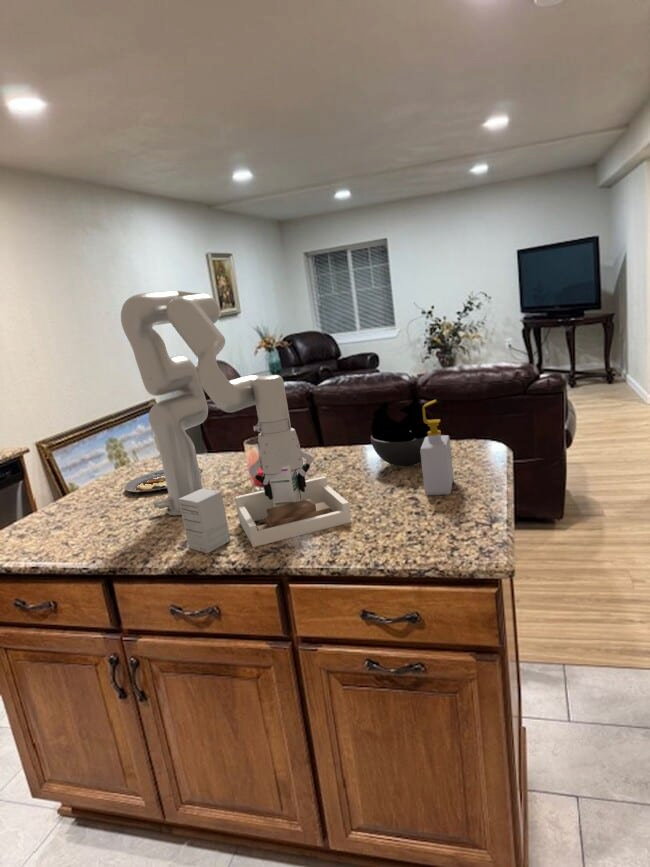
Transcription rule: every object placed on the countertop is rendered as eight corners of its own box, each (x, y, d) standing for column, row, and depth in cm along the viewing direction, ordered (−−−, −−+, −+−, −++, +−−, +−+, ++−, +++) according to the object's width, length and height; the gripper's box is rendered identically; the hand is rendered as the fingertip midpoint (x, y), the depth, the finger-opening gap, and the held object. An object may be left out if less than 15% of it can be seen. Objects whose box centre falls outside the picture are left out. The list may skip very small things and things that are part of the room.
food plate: (209, 468, 211) (207, 458, 210) (194, 490, 188) (191, 479, 187) (140, 479, 212) (138, 469, 211) (117, 502, 189) (114, 491, 189)
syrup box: (298, 521, 148) (289, 465, 145) (275, 523, 150) (266, 467, 146) (304, 513, 154) (295, 459, 150) (282, 514, 155) (273, 460, 152)
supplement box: (211, 536, 147) (202, 487, 144) (231, 541, 142) (222, 490, 139) (187, 548, 141) (177, 498, 139) (207, 554, 137) (197, 501, 134)
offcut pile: (263, 541, 140) (259, 518, 139) (258, 534, 145) (254, 511, 144) (335, 522, 145) (331, 500, 144) (327, 515, 150) (324, 494, 149)
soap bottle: (451, 495, 152) (442, 404, 146) (424, 496, 153) (415, 407, 148) (453, 479, 163) (445, 394, 158) (429, 480, 165) (420, 397, 160)
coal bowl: (452, 466, 174) (446, 403, 170) (388, 480, 169) (380, 416, 165) (423, 451, 193) (417, 394, 189) (365, 464, 188) (357, 406, 184)
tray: (253, 547, 137) (248, 518, 135) (239, 522, 154) (235, 496, 152) (351, 522, 143) (347, 494, 142) (328, 501, 160) (324, 476, 158)
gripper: (242, 436, 140) (255, 506, 144) (313, 421, 145) (323, 490, 149) (237, 430, 147) (249, 498, 151) (305, 417, 152) (314, 482, 156)
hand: (286, 493), depth 150 cm, fingers closed on syrup box, 7 cm apart
